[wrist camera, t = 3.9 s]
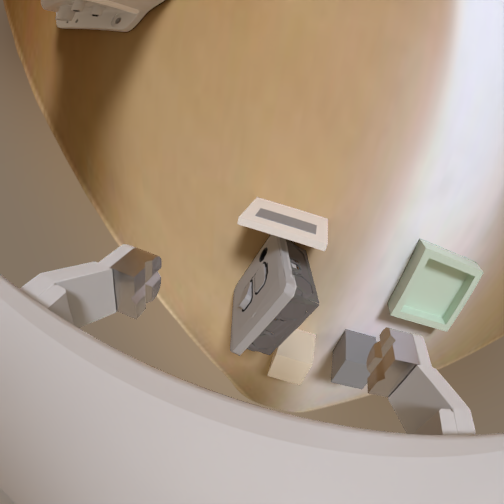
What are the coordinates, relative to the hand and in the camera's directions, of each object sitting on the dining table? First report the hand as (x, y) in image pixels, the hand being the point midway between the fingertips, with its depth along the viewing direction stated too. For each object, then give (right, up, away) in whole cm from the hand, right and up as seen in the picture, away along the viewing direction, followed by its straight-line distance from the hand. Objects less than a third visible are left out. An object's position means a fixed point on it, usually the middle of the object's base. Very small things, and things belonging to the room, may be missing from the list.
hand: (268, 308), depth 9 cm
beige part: (+5, -9, +24) cm, 26 cm away
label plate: (+3, +6, +17) cm, 19 cm away
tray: (+19, -1, +16) cm, 25 cm away
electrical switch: (+2, 0, +21) cm, 21 cm away
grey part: (+12, -9, +22) cm, 27 cm away
